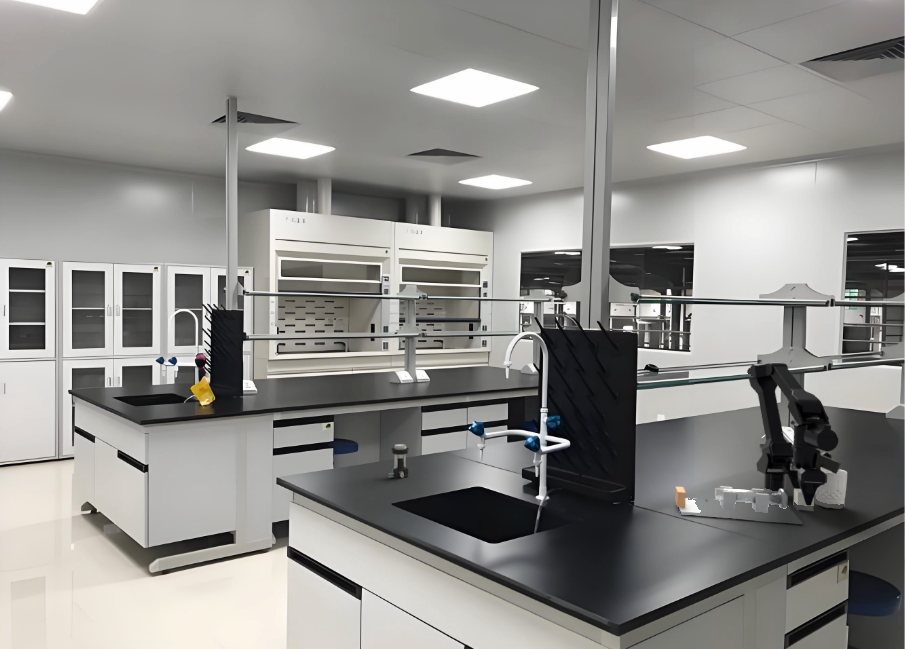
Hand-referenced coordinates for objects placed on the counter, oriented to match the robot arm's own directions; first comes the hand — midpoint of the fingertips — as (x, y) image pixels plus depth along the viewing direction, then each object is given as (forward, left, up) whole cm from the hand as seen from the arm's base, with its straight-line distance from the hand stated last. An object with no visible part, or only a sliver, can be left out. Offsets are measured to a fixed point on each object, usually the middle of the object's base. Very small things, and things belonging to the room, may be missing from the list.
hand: (803, 500), depth 182 cm
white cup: (-5, +8, -2) cm, 10 cm away
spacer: (0, 0, -2) cm, 2 cm away
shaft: (+9, -15, 0) cm, 18 cm away
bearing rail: (+9, -19, -2) cm, 21 cm away
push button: (0, -116, -2) cm, 116 cm away
